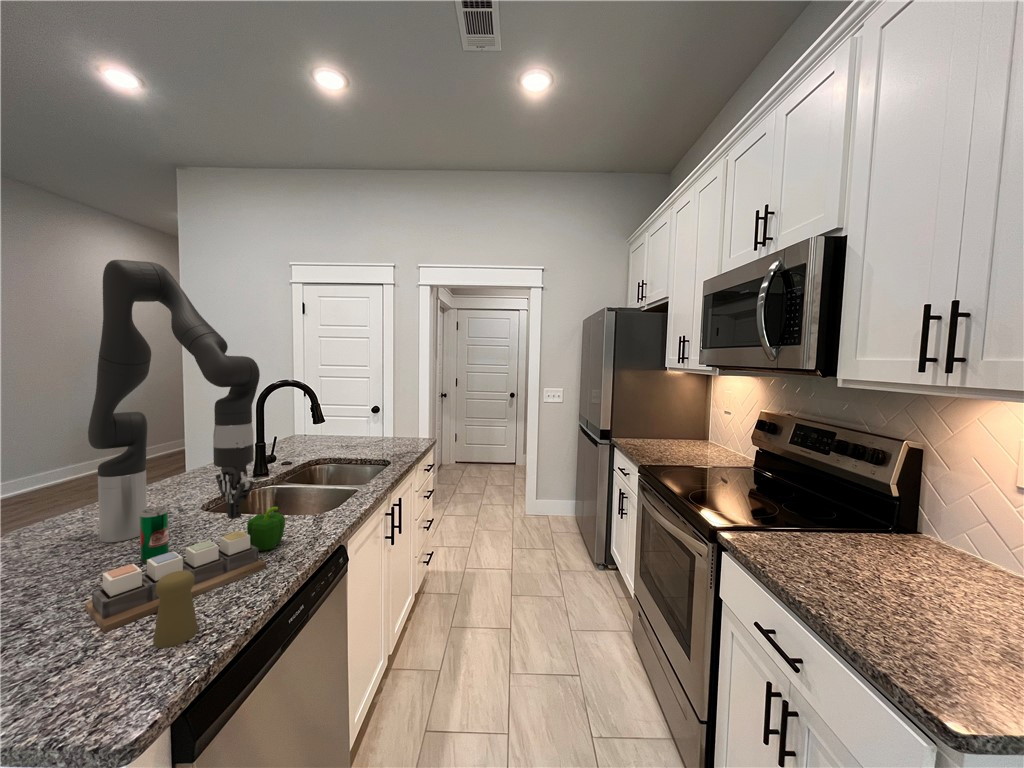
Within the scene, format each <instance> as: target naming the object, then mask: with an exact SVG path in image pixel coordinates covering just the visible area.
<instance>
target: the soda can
mask: <svg viewBox="0 0 1024 768" xmlns="http://www.w3.org/2000/svg"><path fill="white" fill-rule="evenodd" d="M169 534H170V533H169V511H168V510H167V507H166V506H161V505H160V506H152V507H149V508H148V507H147V509H145V510H143V511H142V514H141V515H140V536H139V549H140V552H139V553H140V555H139V556H140V560H141V562H143V563H146V564H147V560H148V559H151V558H153V557H156V556H159V555H163V554H166V553H169V552H170V549H169V547H170V545H169V541H170V540H169Z"/></svg>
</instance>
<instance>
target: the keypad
mask: <svg viewBox="0 0 1024 768" xmlns="http://www.w3.org/2000/svg"><path fill="white" fill-rule="evenodd" d="M265 569H267V563H266V561H263V560H261V559H260V558H259V550H258V548H257V547H255V546H253V545H251V544H250V548H249V549H246V550H243V551H240V552H237V553H234V554H232V555H227V554H226V553H224V552H222V551H220V548H219V559H217V560H214V561H211V562H209V563H206V564H203V565H200V566H197V567H193V566H192V565H190V564H189V563H187V562H186V559H184V560H183V570H185V571H190V572H191V573H192V574H193V575H194V578H195V582H194V585H193V587H192V589H191V594H192V599H193V598H196V597H198V596H200V595H203V594H205V593H207V592H210V591H212V590H215V589H218V588H220V587H222V586H225V585H227V584H230V583H233V582H235V581H237V580H240V579H243V578H245V577H248V576H251V575H252V574H255V573H257V572H260V571H262V570H265ZM158 581H159V580H157V581H155V580H154V579H152V578H151V577H150V576H149V575H147V572H145V573H142V586H139V587H137V588H134V589H131V590H128V591H125V592H122V593H119V594H116V595H114V596H111V597H110V596H109V595H108V594H107V593H106V591H105V590H104V589H103V586H102V587H99V588H97V589H93V590H92V591H91V595H92V598H91V600H89V601H86V602H85V603H84V610H85V611H86V612H87V614H88V615H89V616H90V617H91V618H92V619H93V621H94V622H95V623H96V624H97V626H98V627H99V628H100V630H102V632H103V633H108V632H110V631H113V630H115V629H117V628H120V627H123V626H125V625H127V624H131V623H133V622H136V621H138V620H140V619H143V618H145V617H148V616H150V615H152V614H155V613H158V607H159V601H160V598H159V597H158V596H157V594H156V592H155V588H156V584H157V582H158Z"/></svg>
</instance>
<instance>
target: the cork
mask: <svg viewBox="0 0 1024 768" xmlns="http://www.w3.org/2000/svg"><path fill="white" fill-rule="evenodd" d="M194 582H195V578H194V575H193V574H192V573H191V572H190V571H185V570H182V571H175V572H172V573H169V574H167V575H165V576H163V577H162V578H161V579H159V581H158V582H157V584H156V588H155V592H156V594H157V596H158V597H159V598H160V601H159V607H158V612H157V614H156V621H155V622H156V623H155V628H154V632H153V633H154V634H153V640H152V645H153V647H155V648H157V649H166V648H172V647H176V646H179V645H181V644H183V643H185V642H187V641H189V640H191V639H192V638H194V637H195V636H196V634H197V633H198V631H199V625H198V622H197V621H198V620H197V615H196V610H195V604H194V600H193V598H192V594H191V589H192V587H193V585H194Z"/></svg>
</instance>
